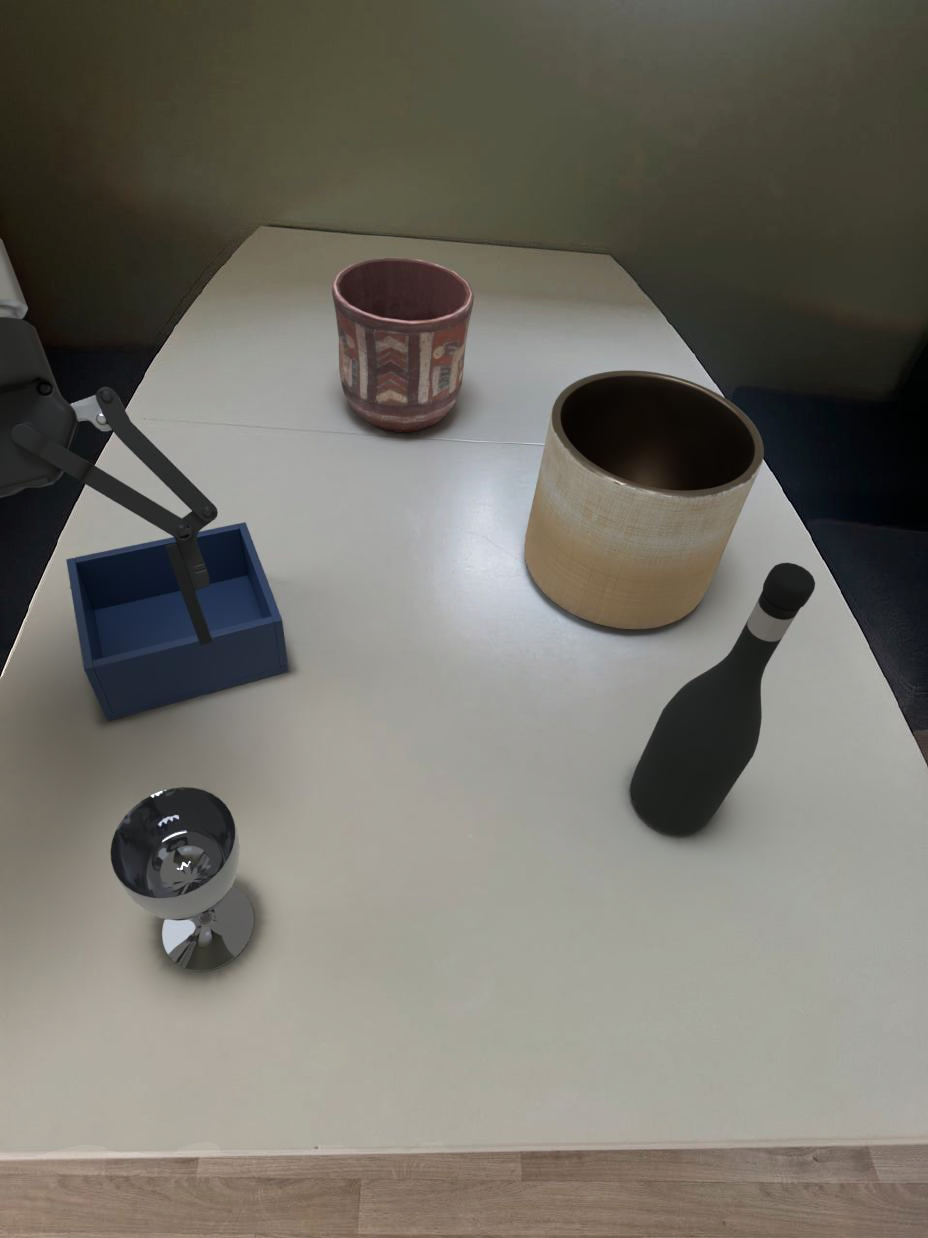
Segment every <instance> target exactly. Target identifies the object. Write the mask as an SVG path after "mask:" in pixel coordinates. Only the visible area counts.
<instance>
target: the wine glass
mask: <svg viewBox="0 0 928 1238" xmlns="http://www.w3.org/2000/svg"><path fill="white" fill-rule="evenodd" d="M240 847H241V845H240V839H239V835H238V829H237V825H236V822H235V820H234V817H233V815H232V812H231V811H230V809H229V807H228V806H227V804H226V803H225V802H223V800H222V799H221V798H220V797H218V796H216V795H215V794H213V793H212V792H210V791H207V790H204V789H201V788H197V787H189V786H188V787H187V786H186V787H184V786H181V787H172V788H168V789H163V790H161V791H158V792H156V793H153V794H151V795H149V796H148V797H146V798H143V799H142V800H141V801H139V802H138V803H137V804H135V805H134V806H133V807H132V808H131V809H130V810H129V811H128V812H127V813H126V814H125V815H124V817H123V818H122V819H121V821H120V822H119V824H118V825H117V828H116V829H115V831H114V834H113V837H112V840H111V845H110V862H111V866H112V870H113V873H114V874H115V876H116V878H117V880H118V881H119V884H120V885H121V887H122V889H123V891H125V893H126V894H127V895H128V896H129V898H130V899H131V900H132V901H133V902H134V903H135V904H136V905H138V906H139V907H140V908H141V909H143V910H144V911H145V912H147V913H149V914H150V915H153V916H155V917H157V918H159V919H161V920H163V924H162V929H161V930H162V931H161V939H162V945H163V949H164V951H165V952H166V954H167V956H168V957H169V959H170V960H171V961H172V962H173V963H174V964H176V965H177V966H178V967H180V968H182V969H185V970H187V971H191V972H208V971H209V972H210V971H212V970H216V969H219V968H221V967H224V966H225V965H227V964H229V963H231V962H232V961H233V960H235V958H237V957H238V956H239V955H240V954H241V953H242V951H244V949H245V948H246V946H247V945H248V943H249V941H250V939H251V936H252V935H253V931H254V926H255V914H254V908H253V905H252V902H251V900H250V899H249V898H248V896H247V895H246V894H245V893H244V892H243V891H242V890H241V889H239V888H238V887H236V886H234V882H235V880H236V878H237V874H238V869H239V865H240Z"/></svg>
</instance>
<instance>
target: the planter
mask: <svg viewBox="0 0 928 1238" xmlns="http://www.w3.org/2000/svg"><path fill="white" fill-rule="evenodd" d="M764 452H765V449H764V443H763V439H762V436H761V434H760V432H759V430H758V429H757V426H756V425H755V424H754V422H753V421H752V419H750V418H749V416H748V415H746V413H745V412H744V411H742V409H740V407H738V406H737V405H735V404H734V403H733V402H732V401H730V400H729V399H728V398H726V397H724V396H722V394H721V395H720V394H719V393H718V392H715V391H713V390H712V389H710V388H708V387H706V386H703V385H701V384H698V383H696V382H693V381H691V380H688V379H685V378H682V377H678V376H675V375H670V374H665V373H661V372H655V371H646V370H631V369H630V370H629V369H628V370H627V369H626V370H625V369H624V370H612V371H611V370H610V371H604V372H599V373H595V374H591V375H588V376H585V377H583V378H580V379H578V380H575V381H574V382H573V383H571V384H569V385H568V386H567V387H565V388H564V389H563V390H562V391H561V392H560V393H559V395H557V398H556V399H555V401H554V402H553V406H552V409H551V413H550V417H549V422H548V427H547V432H546V437H545V442H544V447H543V452H542V456H541V462H540V465H539V471H538V476H537V479H536V483H535V489H534V494H533V498H532V503H531V507H530V512H529V516H528V521H527V526H526V531H525V536H524V558H525V559H524V560H525V563H526V566H527V569H528V572H529V574H530V576H531V578H532V579H533V581H534V582H535V584H536V586H538V587H539V589H540V590H541V591H542V592H543V594H544V595H546V596H547V597H548V598H549V599H550V600H551V601H553V602H554V603H555V604H556V605H558V606H559V607H561V609H564V610H565V611H567V612H569V613H570V614H573V615H574V616H576V617H579V618H581V619H583V620H585V621H588V622H591V623H593V624H597V625H600V626H605V627H610V628H616V629H622V630H623V629H624V630H645V629H647V630H648V629H653V628H654V629H655V628H658V627H659V628H660V627H663V626H667V625H670V624H672V623H675V622H676V621H679V620H681V619H683V618H684V617H686V616H687V615H689V614H690V613H691V612H692V611H693V610H694V609H696V608H697V606H698V605H699V603H700V602H701V601H702V600H703V598H704V596H705V595H706V593H707V591H708V589H709V587H710V585H711V582H712V580H713V578H714V576H715V574H716V572H717V569H718V566H719V564H720V561H721V560H722V558H723V555H724V552H725V550H726V547H727V545H728V543H729V540H730V538H731V536H732V533H733V531H734V529H735V526H736V524H737V522H738V520H739V517H740V515H741V513H742V510H743V508H744V506H745V503H746V502H747V499H748V497H749V494H750V493H751V490H752V488H753V485H754V483H755V481H756V479H757V476H758V474H759V471H760V470H761V468H762V465H763V461H764V457H765V456H764V455H765V453H764Z"/></svg>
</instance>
